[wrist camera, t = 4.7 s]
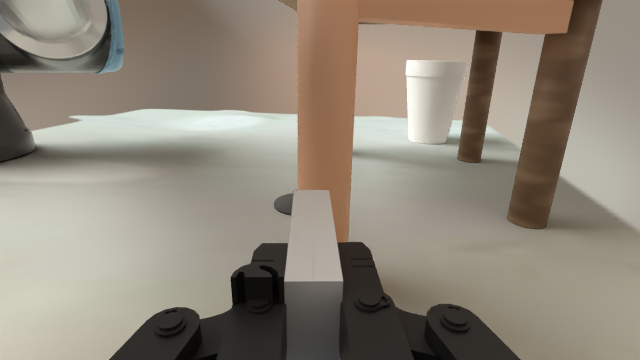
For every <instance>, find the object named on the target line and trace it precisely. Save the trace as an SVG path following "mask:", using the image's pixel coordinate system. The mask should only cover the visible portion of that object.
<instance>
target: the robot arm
mask: <svg viewBox="0 0 640 360" xmlns="http://www.w3.org/2000/svg"><path fill="white" fill-rule="evenodd" d="M123 60H124V51H123V31H122V22H121V16H120V10H119V5H118V0H0V73H14V72H33V73H35V72H36V73H38V72H40V73H45V72H46V73H52V72H53V73H59V72H60V73H63V72H64V73H96V74H101V73H103V72H114V71H117V70H119V69H120V68H121V67H122V65H123ZM35 148H36V147H35V143H34V139H33V135H32V133H31V131H30V129H28V128H27V127H26V126H25V124H24V122H23V120H22V119H21V117H20V115H19V114H18V112H17V111H16V109H15V108H14V106H13V105H12V103H11V102H10V100H9V99H8V97H7V95H6V94H5V90H4V87H3V83H2V80H1V74H0V161H4V160H8V159H12V158H15V157H19V156H22V155H25V154H27V153H30V152H32V151H33V150H34V149H35ZM231 289H232V302H233V305H232V309H230V310H229V311H227V312H225V313H223V314H220V315H216V316H213V317H209V318H205V319H200V318H199V315H198V314H197V313H196V312H195V311H194V310H192V309H189V308H185V307H175V308H171V309H166V310H164V311H161V312H159V313H157V314H155V315H153V316H152V317H151V318H150V319H148V320H147V321H146V322H145V323H144V324H143V325H142V326H141V327H140V328H139V329H138V330H137V331H136V332H135V333H134V334H133V335H132V336H131V337H130V339H129V340H128V341H127V342H126V343H125V344H124V345H123V346H122V347H121V348H120V349H119V350H118V351H117V352H116V353H115V354H114V355H113V356H112V357H111V358H110V359H109V360H520V359H519V358H518V357H517V356H516V355H515V354H514V353H513V352H512V351H511V350H510V349H509V348H508V347H507V346H506V345H505V344H504V343H503V342H502V341H501V340H500V339H499V338H498V337H497V336H496V335H495V334H494V333H493V332H492V331H491V330H490V329H489V328H488V327H487V326H486V325H485V324H484V323H483V322H482V321H481V320H480V319H479V318H478V317H477V316H476V315H475V314H473V313H472V312H471V311H469V310H467V309H465V308H463V307H460V306H457V305H452V304H438V305H436V306H433V307H431V308H430V309H429V311H428V312H427V316H422V315H417V314H413V313H409V312H406V311H403V310H401V309H399V308H397V307H395V304H394V302H393V300H392V299H391V297H390V296H388V295H387V294H385V293H384V292H383V289H382V285H381V282H380V279H379V276H378V273H377V270H376V267H375V264H374V261H373V257H372V254H371V251H370V249H369V248H368V247H366V246H365V245H364V244H363V243H362V242H337V239H336V232H335V226H334V220H333V213H332V207H331V200H330V194H329V190H294V195H293V204H292V213H291V223H290V232H289V241H288V243H262V244H261V245H260V246H259V247H258V248H257V249H256V250H255V251H254V253H253V257H252V262H251V264H248V265H245V266H242V267H240V268H239V269H237V270H236V271H235V272H234V273H233V274H232V276H231Z"/></svg>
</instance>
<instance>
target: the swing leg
mask: <svg viewBox="0 0 640 360" xmlns="http://www.w3.org/2000/svg"><path fill="white" fill-rule="evenodd" d="M573 3H574V1H573V0H297V63H298V64H297V70H298V71H297V73H298V74H297V75H298V190H329V194H330V200H331V207H332V213H333V220H334V226H335V232H336V239H337V242H348V233H349V212H350V191H351V170H352V149H353V128H354V105H355V84H356V64H357V43H358V22H366V23H380V24H396V25H410V26H424V27H439V28H453V29H467V30H481V31H495V32H510V33H511V32H512V33H524V34H559V33H567V30H568V25H569V21H570V16H571V12H572V8H573Z"/></svg>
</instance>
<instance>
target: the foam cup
mask: <svg viewBox="0 0 640 360" xmlns="http://www.w3.org/2000/svg"><path fill="white" fill-rule="evenodd" d="M467 64H468V61H432V60H431V61H430V60H407V63H406V75H407V103H408V136H409V140H411V141H413V142H417V143H424V144H443V143H445V142H446V140H447V138H448V134H449V130H450V127H451V123H452V120H453V116H454V112H455V109H456V105H457V101H458V98H459V94H460V91H461V87H462V83H463V80H464V77H466V70H467Z"/></svg>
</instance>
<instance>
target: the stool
mask: <svg viewBox="0 0 640 360" xmlns="http://www.w3.org/2000/svg"><path fill="white" fill-rule="evenodd" d="M279 1H281V2H283V3H284V4H286V5H287V6H289V7H290V8H292V9H294V10H295V11H297V0H279ZM573 1H574V3H573V8H572V12H571V16H570V21H569V25H568V30H567V33H559V34H545V37H544V42H543V47H542V52H541V57H540V62H539V67H538V71H537V76H536V81H535V86H534V90H533V95H532V100H531V105H530V110H529V115H528V119H527V124H526V129H525V134H524V139H523V143H522V148H521V153H520V158H519V163H518V168H517V172H516V177H515V182H514V187H513V192H512V197H511V201H510V206H509V211H508V216H507V218H508V220H509V221H511V222H512V223H514V224H517V225H519V226H523V227H527V228H535V229H539V228H544V227H546V225H547V221H548V217H549V213H550V209H551V205H552V201H553V197H554V193H555V189H556V185H557V181H558V177H559V173H560V169H561V165H562V161H563V157H564V153H565V149H566V145H567V141H568V137H569V133H570V129H571V125H572V121H573V117H574V113H575V109H576V105H577V101H578V97H579V92H580V88H581V85H582V81H583V77H584V73H585V69H586V65H587V61H588V57H589V52H590V49H591V44H592V41H593V36H594V32H595V29H596V25H597V20H598V16H599V12H600V8H601V4H602V0H573ZM358 24H380V23H366V22H358ZM501 37H502V32H495V31H481V30H476V36H475V43H474V49H473V56H472V63H471V70H470V77H469V84H468V90H467V97H466V103H465V111H464V117H463V124H462V130H461V137H460V144H459V151H458V157H457V159H458V160H461V161H464V162H480V160H481V154H482V148H483V143H484V137H485V131H486V125H487V119H488V113H489V107H490V101H491V96H492V89H493V84H494V78H495V72H496V66H497V60H498V54H499V48H500V43H501ZM293 195H294V193H293V194H287V195H284V196H281V197H279V198H277V199H276V200H275V202H274V207H275V209H276V210H278V211H279V212H281V213H284V214H288V215H291V213H292V204H293Z"/></svg>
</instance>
